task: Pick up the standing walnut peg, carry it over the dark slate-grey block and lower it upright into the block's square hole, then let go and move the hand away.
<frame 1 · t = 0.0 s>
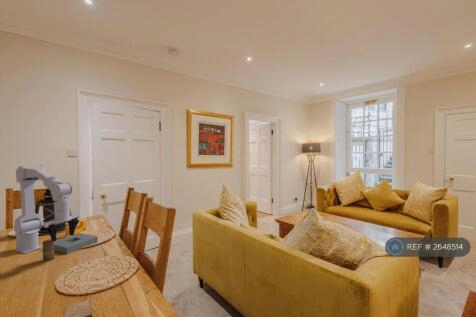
hand: (63, 237, 107), 10 cm above the table, tool pointing down, fingers open, 7 cm apart
lantern: (53, 231, 145), on the table
pipe clamp: (75, 234, 140), on the table
peg: (48, 259, 106), on the table
hole block: (73, 245, 123), on the table
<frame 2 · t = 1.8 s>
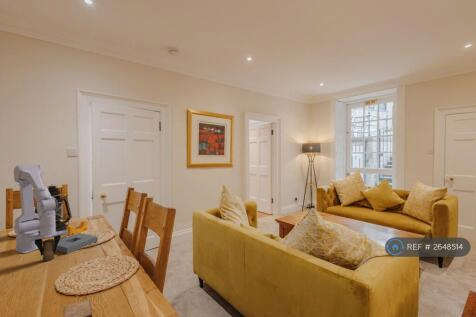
hand: (48, 253, 106), 3 cm above the table, tool pointing down, fingers closed on peg, 4 cm apart
peg: (48, 259, 106), on the table, touching gripper
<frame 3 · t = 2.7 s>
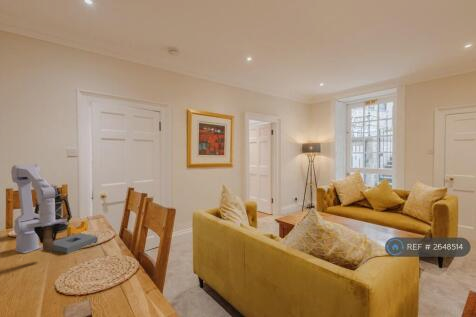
hand: (48, 241, 106), 9 cm above the table, tool pointing down, fingers closed on peg, 4 cm apart
peg: (48, 247, 106), point 6 cm above the table, touching gripper
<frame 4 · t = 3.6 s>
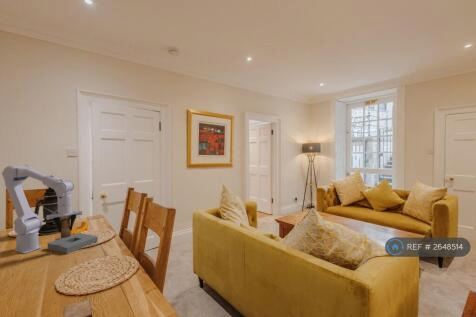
hand: (65, 230, 117), 10 cm above the table, tool pointing down, fingers closed on peg, 4 cm apart
peg: (65, 236, 117), point 7 cm above the table, touching gripper
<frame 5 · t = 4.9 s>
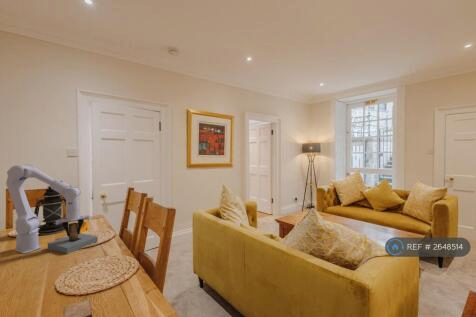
hand: (73, 234, 122), 6 cm above the table, tool pointing down, fingers closed on peg, 4 cm apart
peg: (73, 240, 122), point 3 cm above the table, touching gripper
when the fingers open (4 cm above the table, at t = 5.6 s): peg stays where it is, resting in hole block.
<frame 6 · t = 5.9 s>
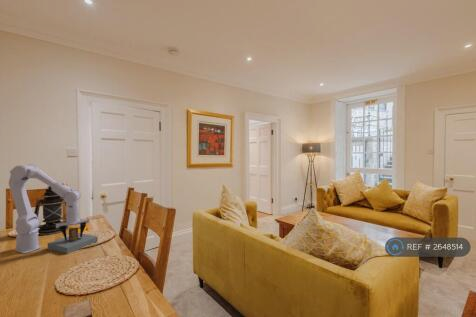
hand: (73, 238, 123), 4 cm above the table, tool pointing down, fingers open, 6 cm apart
peg: (73, 245, 122), resting in hole block
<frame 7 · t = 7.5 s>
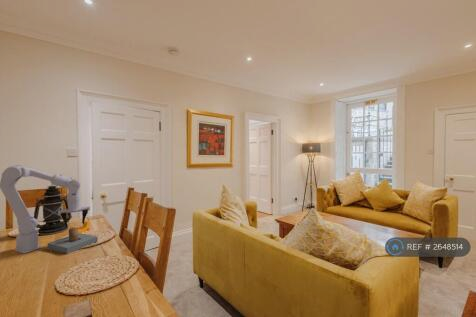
hand: (74, 224, 128), 9 cm above the table, tool pointing down, fingers open, 7 cm apart
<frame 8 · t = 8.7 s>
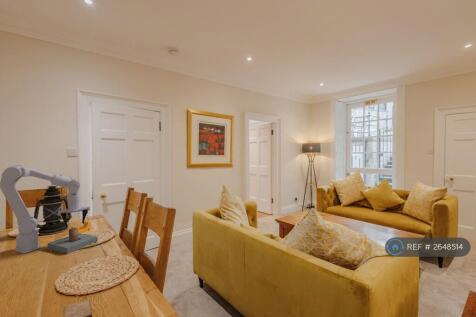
hand: (74, 224, 128), 9 cm above the table, tool pointing down, fingers open, 7 cm apart
at the end: peg 0.1 cm off-centre on the hole block, point 0.0 cm above the hole block's base; peg tilted 0°; the gripper is holding nothing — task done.
